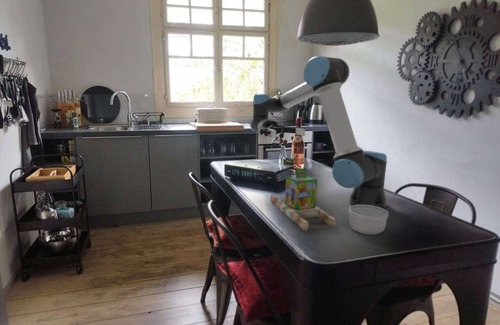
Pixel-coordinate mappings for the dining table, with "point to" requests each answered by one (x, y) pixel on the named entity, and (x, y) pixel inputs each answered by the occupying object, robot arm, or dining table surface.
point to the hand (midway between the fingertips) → (289, 133)
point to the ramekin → (367, 219)
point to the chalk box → (300, 190)
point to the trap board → (306, 216)
